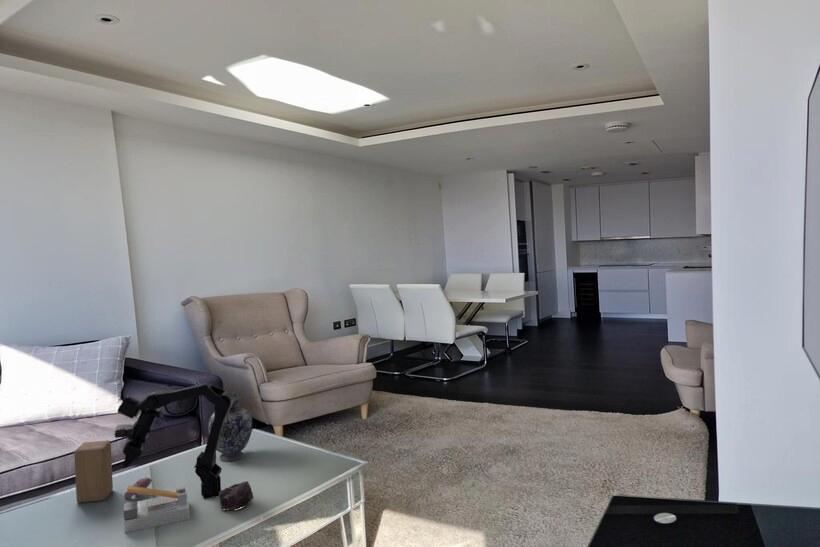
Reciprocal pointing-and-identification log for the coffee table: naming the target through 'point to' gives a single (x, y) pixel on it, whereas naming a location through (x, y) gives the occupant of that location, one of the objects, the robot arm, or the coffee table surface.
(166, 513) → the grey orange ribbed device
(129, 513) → the block
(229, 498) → the rock
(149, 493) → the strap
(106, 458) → the block
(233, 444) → the decorative vase
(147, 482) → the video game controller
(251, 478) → the coffee table surface
